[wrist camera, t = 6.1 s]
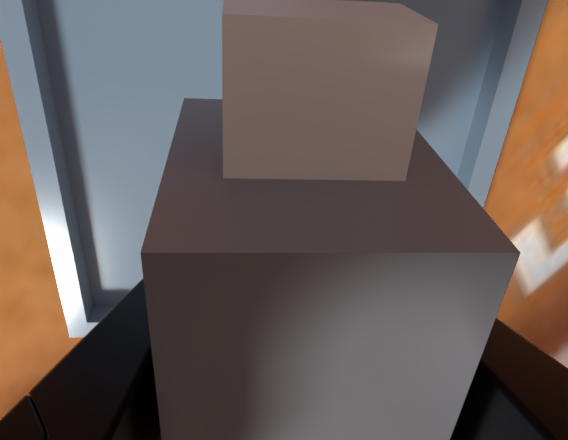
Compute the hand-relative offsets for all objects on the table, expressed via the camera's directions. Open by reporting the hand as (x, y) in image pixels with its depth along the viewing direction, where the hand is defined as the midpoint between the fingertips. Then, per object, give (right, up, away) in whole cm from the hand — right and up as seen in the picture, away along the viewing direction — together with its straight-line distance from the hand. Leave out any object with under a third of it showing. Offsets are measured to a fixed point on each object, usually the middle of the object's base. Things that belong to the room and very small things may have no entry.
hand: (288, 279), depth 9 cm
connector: (0, +1, +1) cm, 1 cm away
